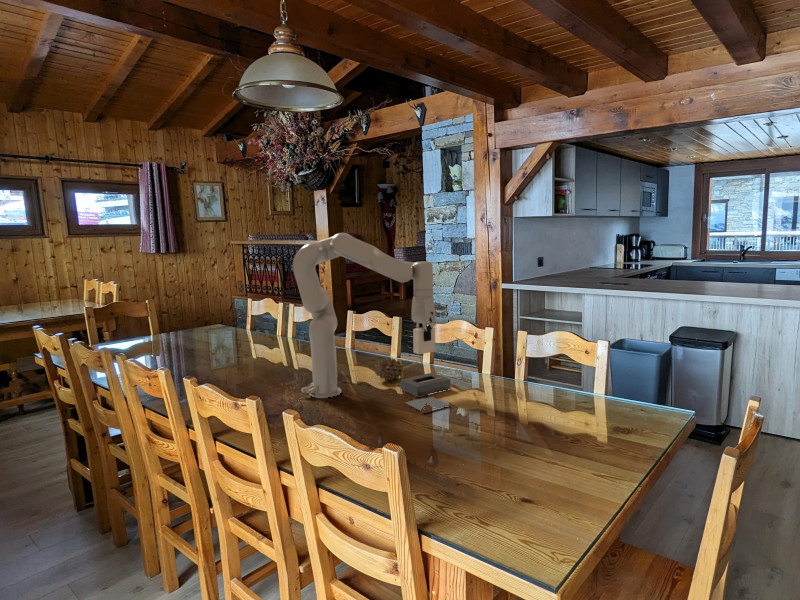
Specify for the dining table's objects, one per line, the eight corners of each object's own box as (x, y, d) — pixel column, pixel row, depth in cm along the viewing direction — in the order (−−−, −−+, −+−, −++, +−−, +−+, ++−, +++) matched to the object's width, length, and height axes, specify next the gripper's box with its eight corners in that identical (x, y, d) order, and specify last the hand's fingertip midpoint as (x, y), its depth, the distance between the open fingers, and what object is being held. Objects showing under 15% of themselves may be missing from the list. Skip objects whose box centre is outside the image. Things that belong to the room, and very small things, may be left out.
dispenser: (417, 398, 191) (417, 385, 191) (400, 390, 201) (400, 378, 201) (450, 390, 200) (450, 377, 199) (432, 383, 210) (432, 371, 209)
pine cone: (383, 386, 208) (382, 362, 206) (370, 381, 215) (369, 358, 214) (423, 375, 221) (422, 353, 220) (409, 371, 229) (408, 350, 227)
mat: (423, 414, 174) (423, 412, 174) (404, 404, 184) (404, 402, 184) (450, 406, 181) (450, 404, 181) (430, 398, 191) (430, 396, 191)
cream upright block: (418, 354, 193) (418, 330, 192) (413, 352, 196) (413, 328, 195) (435, 351, 198) (434, 327, 196) (429, 349, 201) (429, 326, 199)
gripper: (403, 292, 199) (404, 337, 201) (428, 296, 185) (429, 344, 187) (418, 290, 203) (419, 335, 205) (444, 294, 189) (445, 342, 191)
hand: (424, 339), depth 196 cm, fingers closed on cream upright block, 3 cm apart
